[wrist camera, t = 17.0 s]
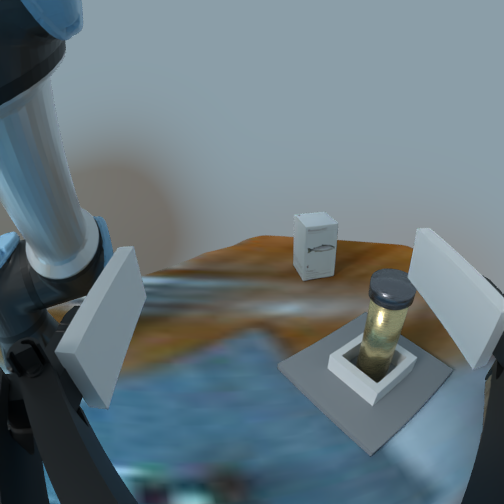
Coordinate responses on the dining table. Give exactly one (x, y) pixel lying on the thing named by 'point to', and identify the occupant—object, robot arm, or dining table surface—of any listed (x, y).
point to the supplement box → (315, 245)
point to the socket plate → (365, 384)
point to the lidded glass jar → (384, 321)
